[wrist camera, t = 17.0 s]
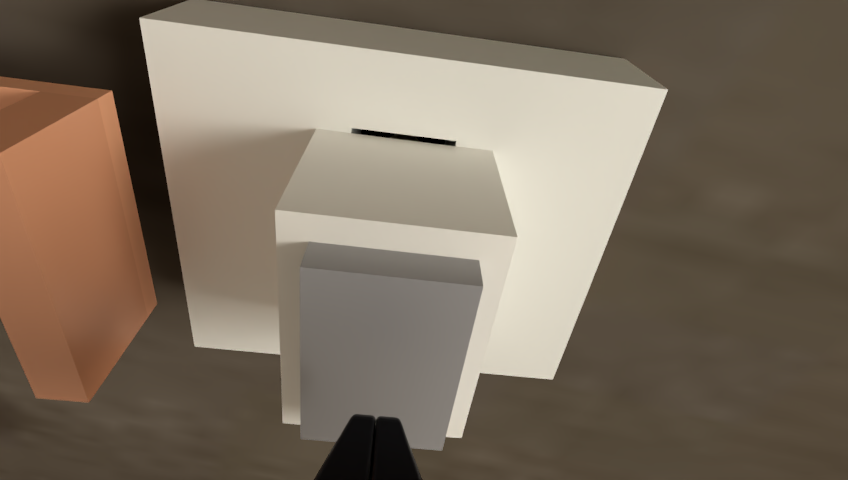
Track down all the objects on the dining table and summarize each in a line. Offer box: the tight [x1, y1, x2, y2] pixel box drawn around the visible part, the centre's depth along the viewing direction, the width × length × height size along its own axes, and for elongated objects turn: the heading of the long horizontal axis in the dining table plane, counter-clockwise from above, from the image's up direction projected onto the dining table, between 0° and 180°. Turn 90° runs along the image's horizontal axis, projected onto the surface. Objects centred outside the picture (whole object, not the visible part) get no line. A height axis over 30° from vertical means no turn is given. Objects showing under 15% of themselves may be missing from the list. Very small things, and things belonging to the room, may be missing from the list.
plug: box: [275, 129, 518, 451], centre depth 13 cm, size 6×5×7 cm
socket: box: [139, 0, 668, 380], centre depth 15 cm, size 10×12×3 cm
